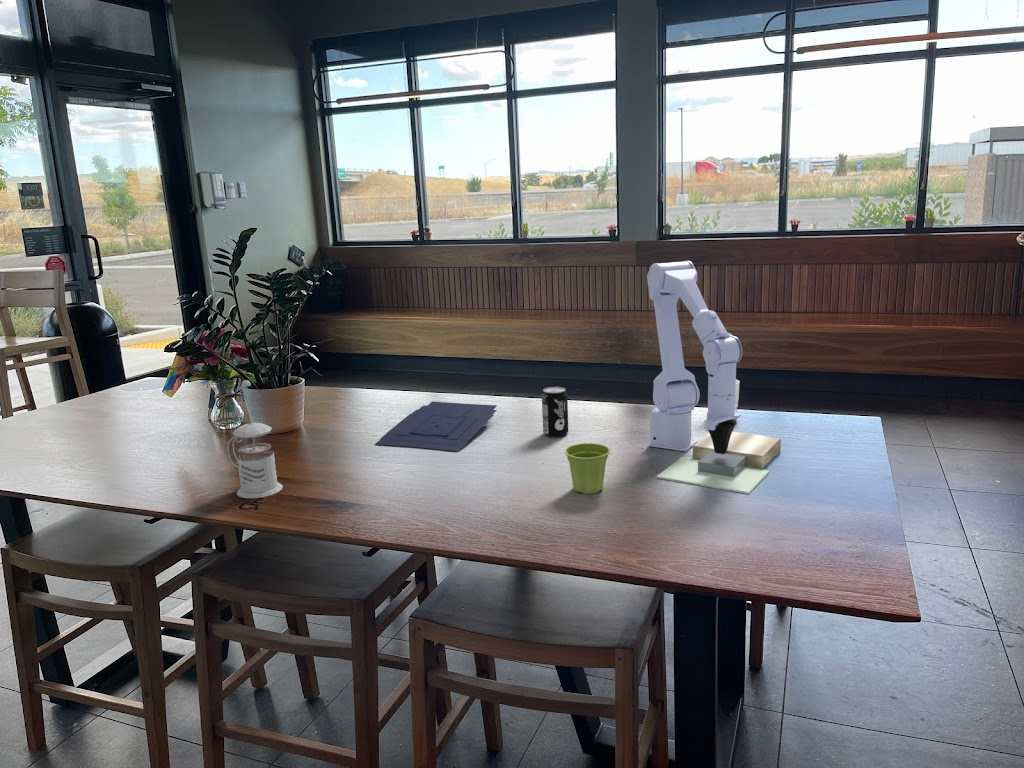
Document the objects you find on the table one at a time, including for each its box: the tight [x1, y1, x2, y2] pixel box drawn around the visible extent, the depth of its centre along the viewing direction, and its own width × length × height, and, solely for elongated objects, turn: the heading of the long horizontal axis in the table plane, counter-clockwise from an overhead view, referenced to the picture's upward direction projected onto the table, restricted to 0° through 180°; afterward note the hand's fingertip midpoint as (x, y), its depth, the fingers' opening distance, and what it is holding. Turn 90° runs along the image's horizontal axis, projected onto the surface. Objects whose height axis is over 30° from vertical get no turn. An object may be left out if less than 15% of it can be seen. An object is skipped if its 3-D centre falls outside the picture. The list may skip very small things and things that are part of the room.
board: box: [692, 431, 782, 470], centre depth 180 cm, size 16×14×3 cm
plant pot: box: [564, 442, 611, 495], centre depth 162 cm, size 9×9×9 cm
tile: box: [698, 451, 747, 477], centre depth 170 cm, size 8×8×2 cm
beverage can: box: [541, 386, 569, 438], centre depth 200 cm, size 7×7×12 cm
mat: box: [656, 456, 770, 495], centre depth 168 cm, size 20×14×1 cm
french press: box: [226, 379, 283, 499], centre depth 170 cm, size 10×12×25 cm
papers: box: [375, 401, 498, 452], centre depth 209 cm, size 24×30×4 cm
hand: (720, 452), depth 171 cm, fingers closed
